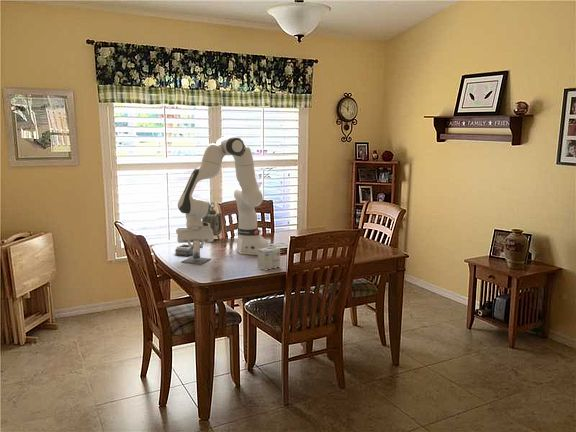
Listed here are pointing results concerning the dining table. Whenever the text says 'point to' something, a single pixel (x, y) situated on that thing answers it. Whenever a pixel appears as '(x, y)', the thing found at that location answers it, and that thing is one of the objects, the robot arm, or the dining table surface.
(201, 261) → the mat
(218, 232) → the tabletop clock
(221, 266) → the dining table surface
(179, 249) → the chuck block
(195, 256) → the key rod
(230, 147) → the robot arm
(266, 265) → the light bulb box
